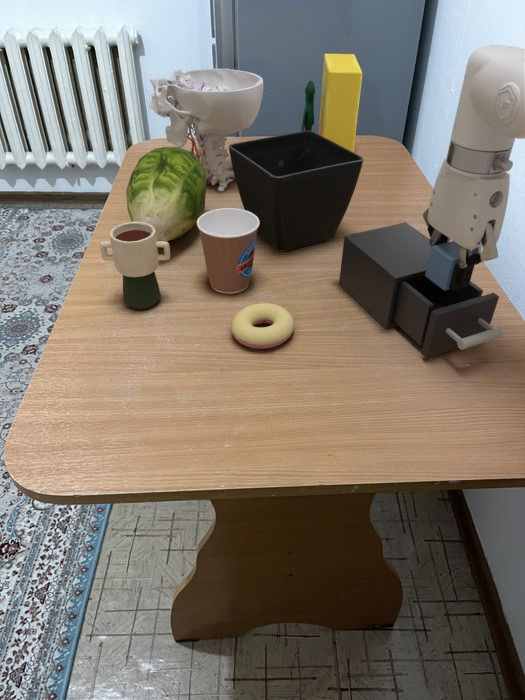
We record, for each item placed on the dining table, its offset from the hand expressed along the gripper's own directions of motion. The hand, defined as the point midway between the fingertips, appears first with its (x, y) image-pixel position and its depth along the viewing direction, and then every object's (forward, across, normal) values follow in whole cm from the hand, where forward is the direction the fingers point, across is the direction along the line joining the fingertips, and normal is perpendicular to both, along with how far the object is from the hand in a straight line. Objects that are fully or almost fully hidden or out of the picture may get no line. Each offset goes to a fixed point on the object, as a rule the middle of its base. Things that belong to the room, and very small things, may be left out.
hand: (447, 277), depth 83 cm
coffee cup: (+10, +27, +24) cm, 37 cm away
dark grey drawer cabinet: (+10, +11, 0) cm, 15 cm away
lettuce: (+10, +49, +28) cm, 57 cm away
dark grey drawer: (+9, -1, 0) cm, 9 cm away
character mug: (+10, +28, +40) cm, 49 cm away
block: (0, 0, 0) cm, 0 cm away
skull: (+10, +70, +11) cm, 71 cm away
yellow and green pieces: (+10, +68, -19) cm, 72 cm away
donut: (+10, +11, +25) cm, 29 cm away
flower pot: (+10, +39, +5) cm, 41 cm away
